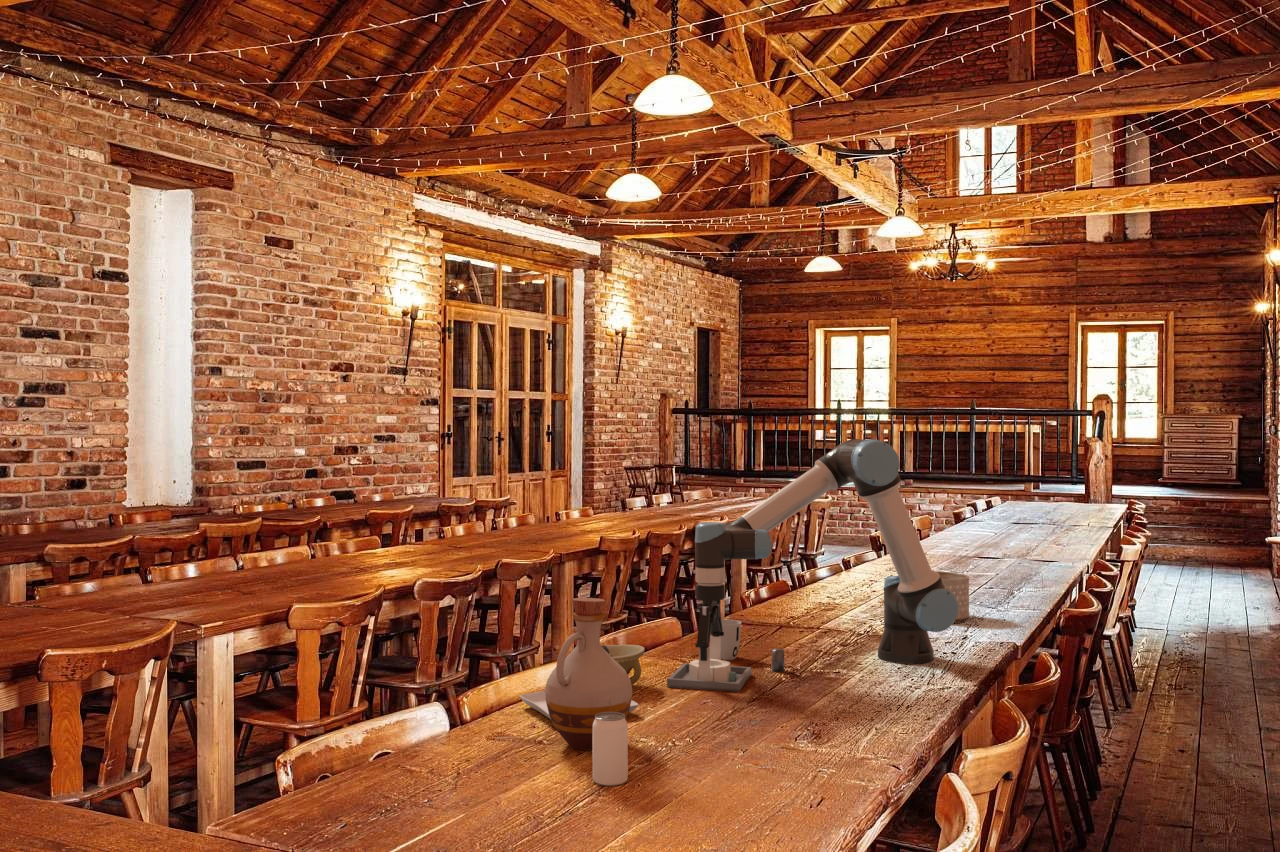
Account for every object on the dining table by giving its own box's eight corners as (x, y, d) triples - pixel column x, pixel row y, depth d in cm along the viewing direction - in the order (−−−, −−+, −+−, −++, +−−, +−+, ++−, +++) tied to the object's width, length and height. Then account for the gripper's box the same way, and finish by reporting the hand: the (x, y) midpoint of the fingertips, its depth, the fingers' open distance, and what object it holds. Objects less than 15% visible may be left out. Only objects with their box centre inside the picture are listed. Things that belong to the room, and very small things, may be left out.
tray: (751, 674, 280) (751, 667, 280) (738, 691, 263) (738, 683, 263) (683, 670, 285) (683, 663, 285) (667, 687, 268) (667, 679, 267)
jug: (595, 766, 206) (595, 610, 206) (521, 751, 216) (521, 602, 216) (648, 740, 223) (648, 595, 223) (578, 727, 233) (578, 588, 232)
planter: (975, 617, 362) (975, 574, 361) (959, 626, 346) (959, 581, 346) (921, 611, 372) (921, 570, 371) (903, 620, 356) (903, 576, 356)
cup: (739, 661, 295) (739, 625, 295) (710, 660, 297) (710, 624, 297) (742, 655, 303) (742, 620, 303) (714, 654, 305) (714, 619, 305)
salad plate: (553, 731, 231) (553, 715, 231) (517, 707, 250) (517, 693, 250) (641, 718, 241) (641, 703, 241) (600, 696, 260) (600, 682, 260)
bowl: (656, 682, 273) (656, 644, 273) (625, 698, 257) (625, 658, 256) (594, 675, 280) (594, 638, 280) (561, 691, 264) (561, 652, 264)
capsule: (785, 669, 286) (785, 648, 286) (783, 672, 283) (783, 651, 283) (773, 668, 287) (773, 648, 287) (771, 671, 284) (771, 650, 284)
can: (591, 775, 201) (591, 711, 201) (626, 774, 202) (626, 710, 202) (593, 787, 195) (593, 721, 195) (628, 786, 195) (628, 720, 195)
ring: (695, 673, 280) (695, 657, 280) (738, 675, 277) (738, 660, 277) (686, 682, 270) (686, 666, 270) (731, 685, 267) (731, 669, 267)
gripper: (705, 576, 287) (706, 656, 287) (684, 590, 263) (684, 677, 263) (733, 577, 285) (733, 657, 285) (714, 591, 261) (714, 679, 261)
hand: (710, 667), depth 274 cm, fingers open, 13 cm apart
